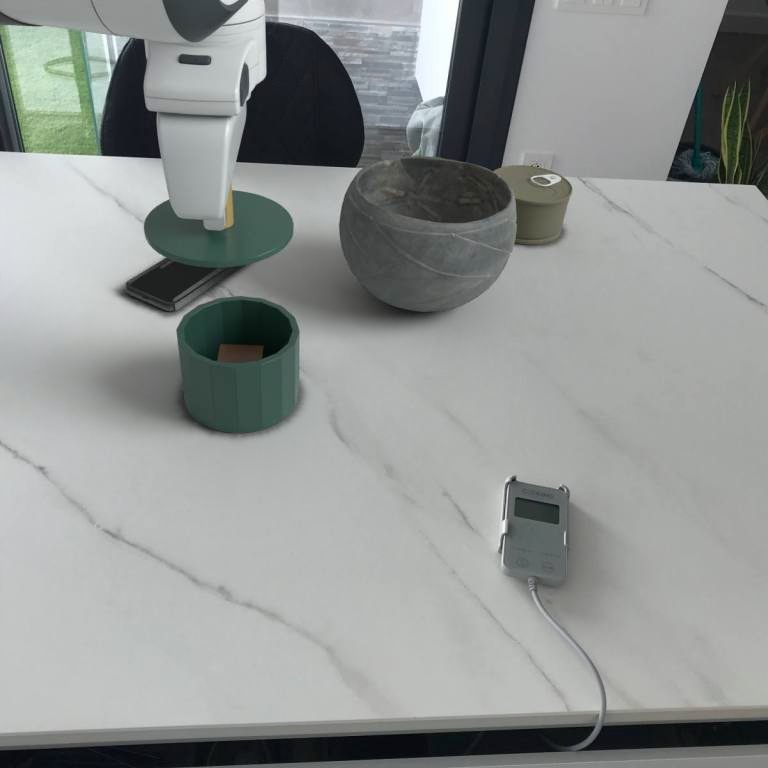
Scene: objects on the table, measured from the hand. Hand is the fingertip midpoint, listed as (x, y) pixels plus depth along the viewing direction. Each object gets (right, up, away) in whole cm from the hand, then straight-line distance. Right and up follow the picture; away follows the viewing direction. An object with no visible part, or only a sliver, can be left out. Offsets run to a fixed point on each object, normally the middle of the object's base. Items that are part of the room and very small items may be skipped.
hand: (218, 215), depth 67 cm
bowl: (+19, -3, +32) cm, 38 cm away
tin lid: (0, -1, +1) cm, 1 cm away
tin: (-1, -16, +15) cm, 22 cm away
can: (+35, +9, +49) cm, 61 cm away
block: (-1, -15, +14) cm, 21 cm away
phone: (-10, -1, +31) cm, 33 cm away
